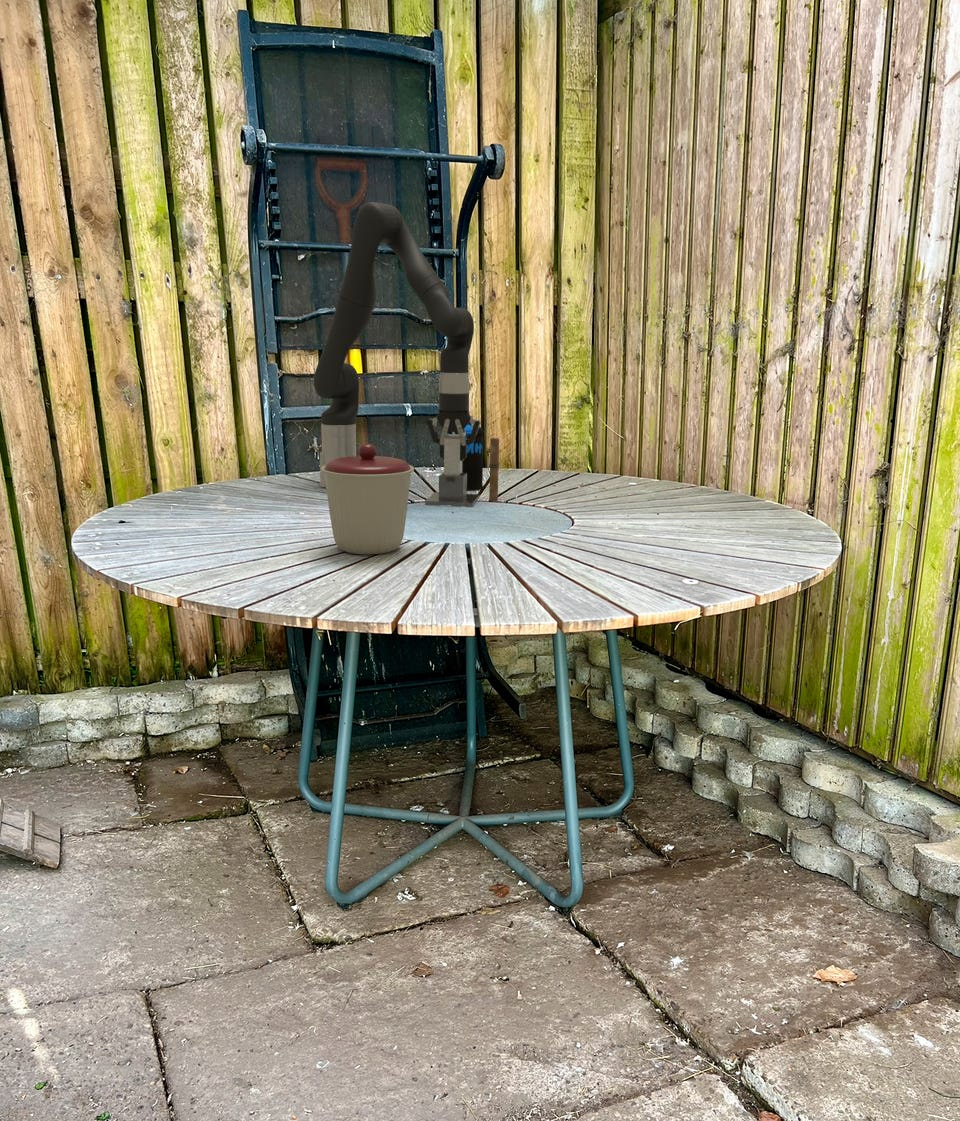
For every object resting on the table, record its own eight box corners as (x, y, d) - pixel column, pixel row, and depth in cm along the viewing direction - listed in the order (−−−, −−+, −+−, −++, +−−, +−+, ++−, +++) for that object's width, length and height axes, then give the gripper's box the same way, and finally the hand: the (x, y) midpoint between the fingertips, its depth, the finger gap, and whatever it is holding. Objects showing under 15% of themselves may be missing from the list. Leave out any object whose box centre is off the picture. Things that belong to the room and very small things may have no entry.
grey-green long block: (442, 497, 226) (442, 436, 223) (445, 494, 231) (446, 433, 227) (460, 498, 226) (461, 436, 222) (463, 495, 230) (464, 434, 226)
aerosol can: (454, 485, 252) (455, 413, 247) (483, 486, 252) (485, 414, 247) (452, 490, 244) (453, 416, 239) (482, 491, 244) (484, 417, 239)
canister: (305, 547, 179) (301, 442, 174) (376, 534, 191) (375, 436, 186) (360, 565, 167) (358, 452, 161) (432, 550, 179) (433, 445, 174)
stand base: (425, 504, 224) (425, 477, 222) (434, 496, 235) (434, 469, 233) (472, 507, 222) (472, 479, 220) (479, 498, 234) (479, 471, 232)
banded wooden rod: (488, 500, 230) (490, 438, 226) (489, 499, 232) (491, 437, 228) (497, 501, 230) (498, 439, 226) (498, 499, 232) (499, 438, 228)
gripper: (422, 391, 219) (422, 461, 223) (480, 393, 217) (479, 463, 221) (428, 389, 226) (428, 456, 231) (484, 390, 224) (483, 459, 229)
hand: (453, 459), depth 226 cm, fingers closed on grey-green long block, 4 cm apart
